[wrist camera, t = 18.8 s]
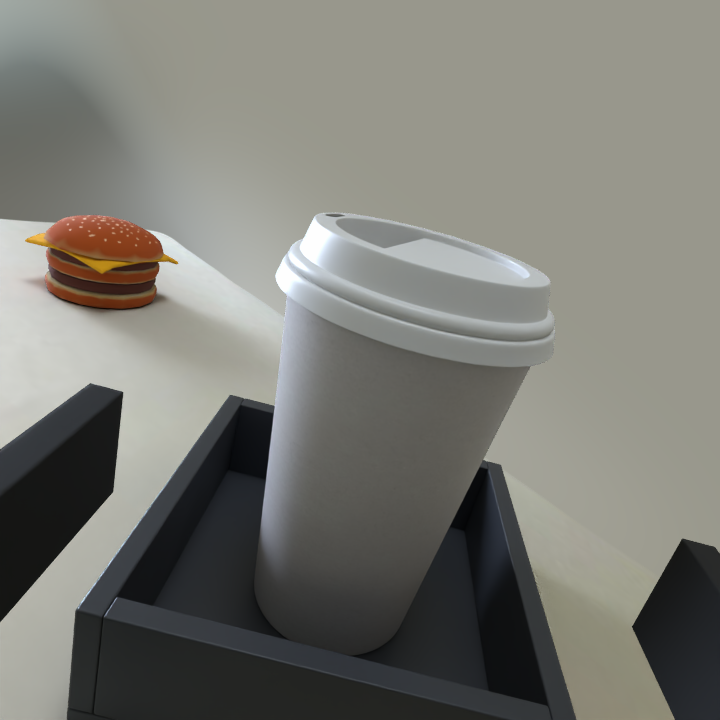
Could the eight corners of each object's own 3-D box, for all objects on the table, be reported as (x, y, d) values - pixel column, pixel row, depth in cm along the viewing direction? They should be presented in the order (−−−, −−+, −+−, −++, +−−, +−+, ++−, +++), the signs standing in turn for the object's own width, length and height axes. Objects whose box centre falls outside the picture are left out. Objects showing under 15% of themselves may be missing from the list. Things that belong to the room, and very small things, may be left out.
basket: (473, 533, 31) (501, 464, 29) (525, 836, 17) (582, 738, 16) (216, 467, 31) (229, 394, 29) (65, 721, 17) (74, 610, 16)
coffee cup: (334, 494, 30) (411, 217, 25) (481, 617, 25) (622, 293, 19) (170, 560, 23) (227, 194, 18) (322, 752, 18) (473, 303, 12)
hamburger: (16, 283, 48) (18, 204, 45) (105, 271, 56) (110, 204, 54) (100, 319, 45) (107, 237, 43) (180, 300, 54) (189, 232, 51)
